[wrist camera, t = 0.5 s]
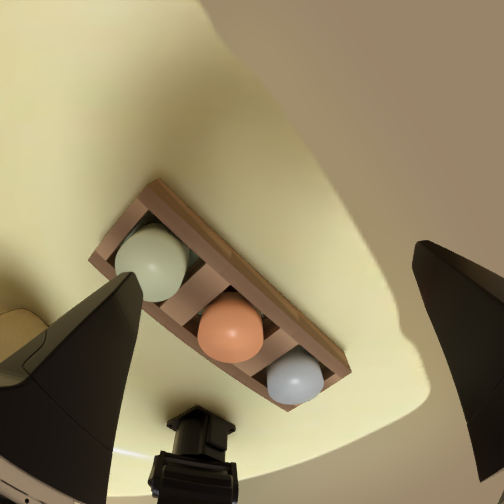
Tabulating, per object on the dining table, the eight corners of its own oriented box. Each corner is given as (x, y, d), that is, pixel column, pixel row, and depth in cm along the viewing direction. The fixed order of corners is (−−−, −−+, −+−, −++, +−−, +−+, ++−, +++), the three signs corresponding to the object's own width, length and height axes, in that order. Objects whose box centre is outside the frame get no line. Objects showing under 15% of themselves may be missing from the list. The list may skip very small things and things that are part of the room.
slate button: (288, 389, 29) (291, 411, 26) (254, 365, 27) (255, 388, 25) (327, 363, 28) (334, 385, 25) (296, 336, 26) (301, 359, 23)
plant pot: (75, 395, 32) (34, 489, 17) (-8, 338, 29) (-65, 412, 14) (97, 325, 27) (28, 450, 13) (-6, 254, 24) (-100, 332, 9)
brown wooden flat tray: (285, 391, 31) (287, 411, 28) (102, 246, 24) (87, 260, 21) (344, 352, 29) (351, 372, 26) (158, 177, 22) (147, 184, 19)
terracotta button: (232, 348, 27) (230, 371, 24) (189, 316, 25) (184, 337, 22) (273, 317, 25) (277, 339, 22) (231, 280, 24) (229, 300, 21)
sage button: (162, 293, 24) (153, 313, 21) (117, 253, 23) (102, 269, 20) (203, 254, 23) (197, 272, 20) (154, 209, 22) (142, 221, 19)
